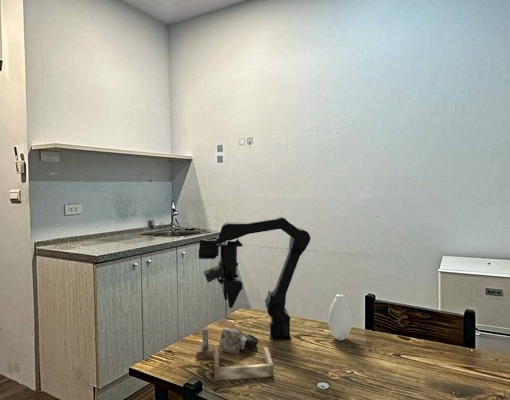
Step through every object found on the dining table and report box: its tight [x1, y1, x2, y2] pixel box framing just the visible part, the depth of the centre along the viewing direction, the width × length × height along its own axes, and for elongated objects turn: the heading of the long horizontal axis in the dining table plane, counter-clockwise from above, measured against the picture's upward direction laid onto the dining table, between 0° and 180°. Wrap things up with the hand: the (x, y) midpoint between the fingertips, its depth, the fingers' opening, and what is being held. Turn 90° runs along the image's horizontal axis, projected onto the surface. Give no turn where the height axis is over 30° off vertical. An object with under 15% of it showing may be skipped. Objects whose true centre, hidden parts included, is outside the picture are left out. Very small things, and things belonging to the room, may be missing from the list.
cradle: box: [213, 346, 275, 381], centre depth 106 cm, size 16×12×3 cm
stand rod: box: [196, 327, 215, 359], centre depth 115 cm, size 5×5×8 cm
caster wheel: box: [217, 327, 259, 356], centre depth 119 cm, size 7×11×10 cm
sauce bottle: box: [327, 287, 353, 341], centre depth 125 cm, size 8×8×18 cm
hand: (228, 303), depth 126 cm, fingers open, 9 cm apart
